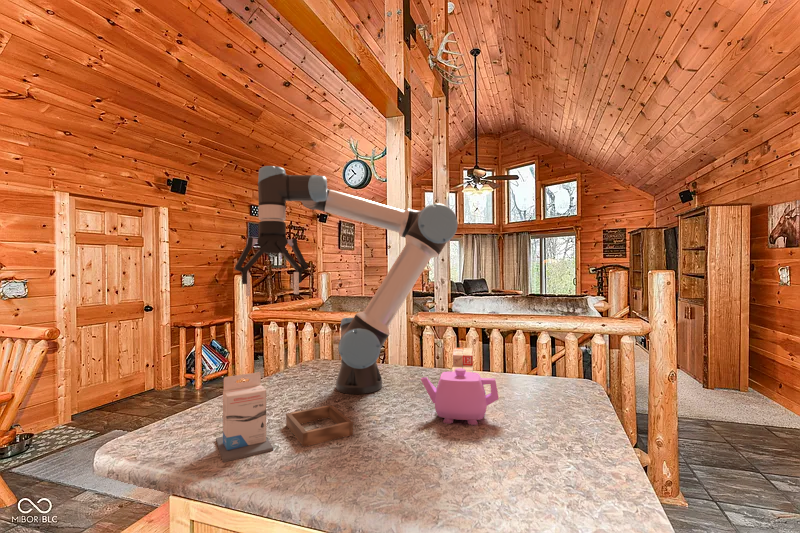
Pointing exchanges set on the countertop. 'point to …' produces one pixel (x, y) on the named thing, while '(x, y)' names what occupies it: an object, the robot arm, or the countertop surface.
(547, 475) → the countertop surface
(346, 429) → the walnut frame
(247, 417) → the ink box
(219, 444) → the rubber mat
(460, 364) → the stack of blocks
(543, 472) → the countertop surface
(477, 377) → the teapot
